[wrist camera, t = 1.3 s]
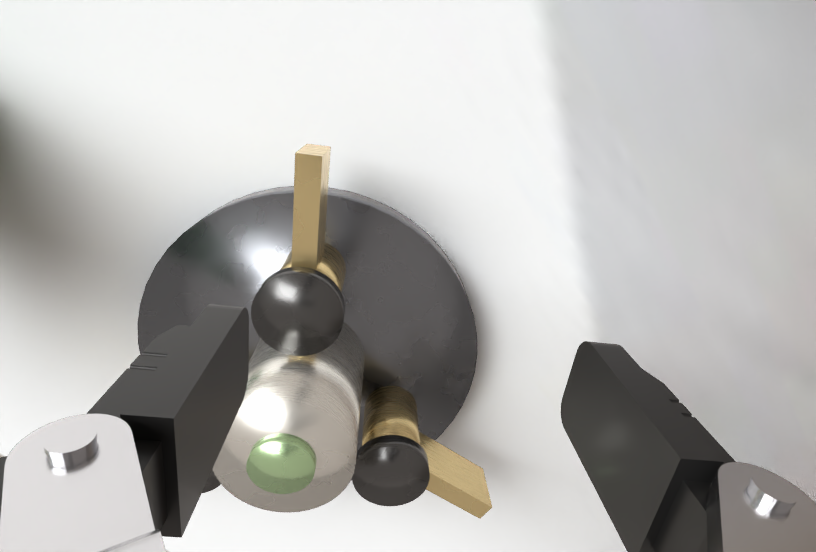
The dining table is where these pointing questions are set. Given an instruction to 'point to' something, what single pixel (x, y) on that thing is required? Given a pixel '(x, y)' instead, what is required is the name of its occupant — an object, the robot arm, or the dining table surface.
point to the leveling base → (371, 290)
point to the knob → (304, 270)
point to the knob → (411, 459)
